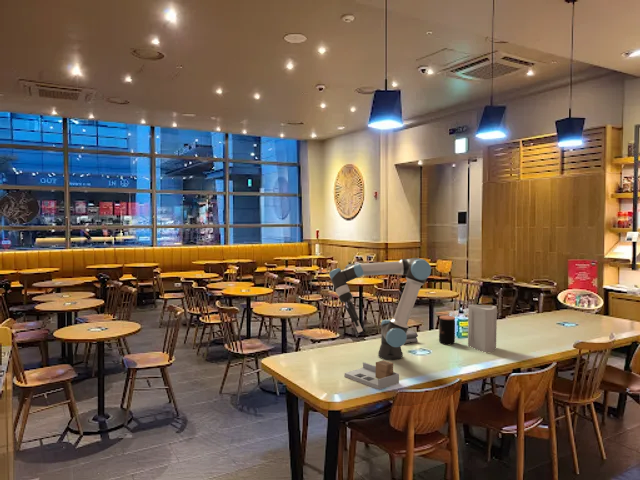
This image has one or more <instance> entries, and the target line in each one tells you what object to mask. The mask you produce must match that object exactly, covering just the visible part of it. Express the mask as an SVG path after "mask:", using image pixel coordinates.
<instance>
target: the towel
mask: <svg viewBox="0 0 640 480" xmlns="http://www.w3.org/2000/svg"><path fill="white" fill-rule="evenodd" d="M406 335H407V339H406V342H405V343H404V344H409V343H410V342H412V343H417V342H418V336H419V334H418V333H417V332H416V331H414V330H409V329H408V330H407V333H406ZM410 344H411V343H410Z"/></svg>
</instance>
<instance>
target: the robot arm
mask: <svg viewBox="0 0 640 480" xmlns="http://www.w3.org/2000/svg"><path fill="white" fill-rule="evenodd" d="M431 267H432V266H431V265H430V263H429V262H428V261H427V260H425V259H423V258H418V257H411V258H405V259H399V260H398V261H384V262H366V263H365V262H364V263H348V264H347V265H345V267H344V269H341V268H340V267H339V268H338V267H337V268H335V269H332V270H331V271H329V273H328V274H329V278H330V280H331V283H332V285H333V287H334V289H335V293H336V295H337V296H338V299H339V301H340V303H343V304H344V305H343V306H344V308H345V309H346V311H347V313H348V315H349V317H350V319H351V323H354V327H355V329H356V330H357V333H358V334H359V333H361V332H363V328H362V326H361V323H360V318H359V316H358V313H357V311H356V307H355V305H354V303H353V302H352V301H351V300H352V299H353V294H352V292H351V290H350V287H349V285H348V282H350V281H353V280H355V279H357V278H360V277H362V276H378V275H380V276H381V275H382V276H383V275H396V274H397V275H398V274H400V275H401V276H405V279H406V283H405V285H404V289H403V291H402V294H401V295H400V300H399V302H398V304H397V307H396V310H395V313H394V316H393V318H391V319H382V320H381V322H380V323H381V324H380V327H381V329H380V330H381V332H380V335H381V336H380V341H381V343H380V346H379V350H378V353H377V354H378V355H377V356H378V357H379V358H380V359H383V360H389V361H391V360H393V361H396V360H401V359H402V358H403V357H404V353H403V351H402V346H403V345H405V344H406V343H405V342H406V339H407V335H406V333H407V330H408V331H409V329H410V328H409V324H408V323H409V319H410V317H411V315H412V311H413V309H414V307H415V303H416V300H417V298H418V295H419V292H420V290H421V286H423V285H425V283H426V281H427V280H428V278H429V276H430V275H431V272H432V268H431Z"/></svg>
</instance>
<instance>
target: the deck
mask: <svg viewBox="0 0 640 480" xmlns="http://www.w3.org/2000/svg"><path fill="white" fill-rule="evenodd" d="M344 377H345V378H348V379H350V380H352V381H353V380H354V381H355V382H358V383H361V384H363V385H365V386H369V387H371V388H373V389H377V390H383V389H386V388H389V387H392V386H396V385H398V384H400V373H398V372H394V371H393V375H391V376H388V377H384V378H381V379H379V378H376V365H374V364H371V363H367V362H362V368H357V369H352V370H350V371H346V372H344Z"/></svg>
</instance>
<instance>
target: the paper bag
mask: <svg viewBox="0 0 640 480" xmlns="http://www.w3.org/2000/svg"><path fill="white" fill-rule="evenodd" d="M497 309H498V307H497V306H496V305H489V304H487V305H486V304H468V319H467V320H468V322H467V323H468V324H467V327H468V330H467V332H468V333H467V346H468V347H470V346H471V347H470V348H472V347H473V348H472V349H474V348H475V350H477V349H478V350H477V351H479V350H480V351H479V352H482V351H483V352H482V353H484V352H491V353H493V352H494V351H495V350H496V349H497V328H498V327H497V323H498V321H497V317H498V310H497ZM495 348H496V349H495ZM494 349H495V350H494ZM493 350H494V351H493ZM492 351H493V352H492Z"/></svg>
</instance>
